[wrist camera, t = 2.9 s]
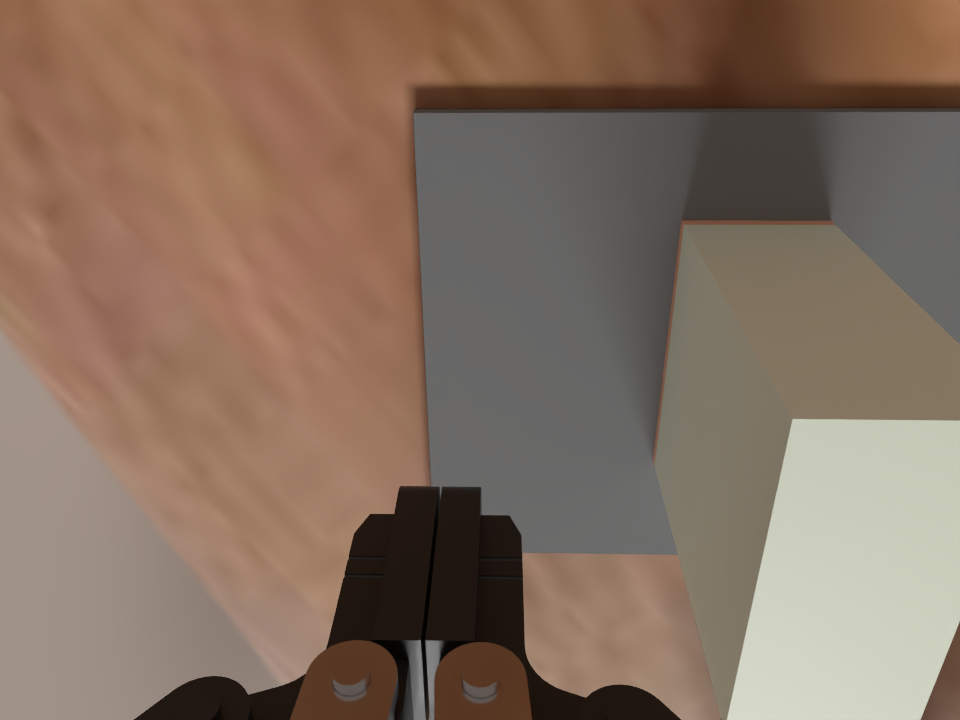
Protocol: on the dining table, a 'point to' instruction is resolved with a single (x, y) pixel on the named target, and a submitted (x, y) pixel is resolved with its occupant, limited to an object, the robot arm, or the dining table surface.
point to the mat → (629, 279)
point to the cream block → (810, 473)
